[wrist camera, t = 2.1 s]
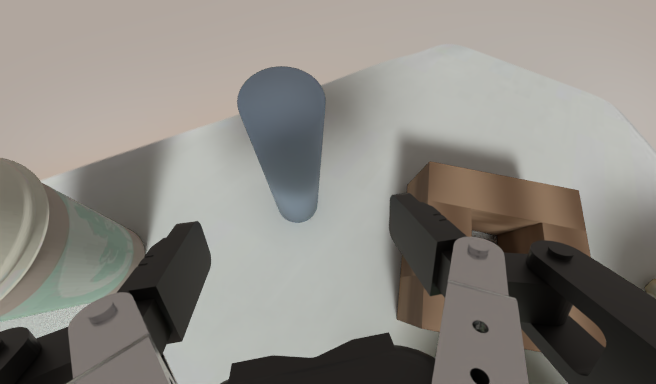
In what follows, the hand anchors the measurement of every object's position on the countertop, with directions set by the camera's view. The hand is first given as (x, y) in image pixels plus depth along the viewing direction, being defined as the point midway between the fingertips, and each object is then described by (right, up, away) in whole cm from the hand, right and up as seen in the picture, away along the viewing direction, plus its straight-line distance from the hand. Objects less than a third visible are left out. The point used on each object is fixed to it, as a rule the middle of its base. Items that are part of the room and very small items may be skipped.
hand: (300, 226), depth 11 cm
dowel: (-2, 0, +13) cm, 13 cm away
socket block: (+14, -4, +12) cm, 19 cm away
